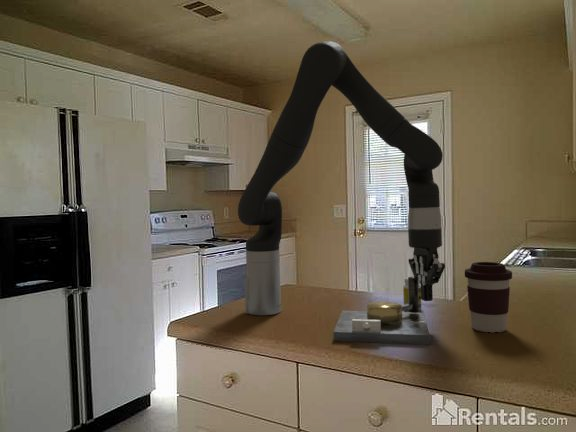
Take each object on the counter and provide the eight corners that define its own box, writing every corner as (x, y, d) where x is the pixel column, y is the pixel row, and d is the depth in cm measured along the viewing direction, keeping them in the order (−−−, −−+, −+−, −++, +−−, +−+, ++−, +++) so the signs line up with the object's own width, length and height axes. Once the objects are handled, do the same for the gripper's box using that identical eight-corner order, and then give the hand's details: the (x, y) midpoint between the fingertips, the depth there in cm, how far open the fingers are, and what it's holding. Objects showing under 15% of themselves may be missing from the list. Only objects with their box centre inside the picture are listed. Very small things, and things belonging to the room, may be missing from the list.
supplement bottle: (422, 310, 123) (421, 279, 123) (404, 310, 124) (403, 279, 124) (420, 306, 128) (420, 276, 128) (403, 306, 129) (402, 276, 129)
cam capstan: (384, 324, 101) (383, 287, 101) (359, 317, 108) (359, 282, 108) (430, 313, 110) (429, 279, 109) (404, 307, 116) (404, 274, 116)
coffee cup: (509, 337, 98) (509, 268, 98) (461, 331, 103) (460, 265, 103) (515, 326, 107) (514, 261, 106) (469, 321, 112) (469, 260, 111)
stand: (333, 341, 99) (333, 321, 99) (342, 318, 118) (342, 301, 118) (430, 345, 95) (429, 324, 94) (423, 320, 113) (423, 302, 113)
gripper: (455, 227, 102) (457, 304, 102) (424, 225, 115) (426, 294, 115) (424, 228, 100) (427, 307, 101) (397, 226, 113) (399, 296, 114)
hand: (426, 300), depth 108 cm, fingers closed
